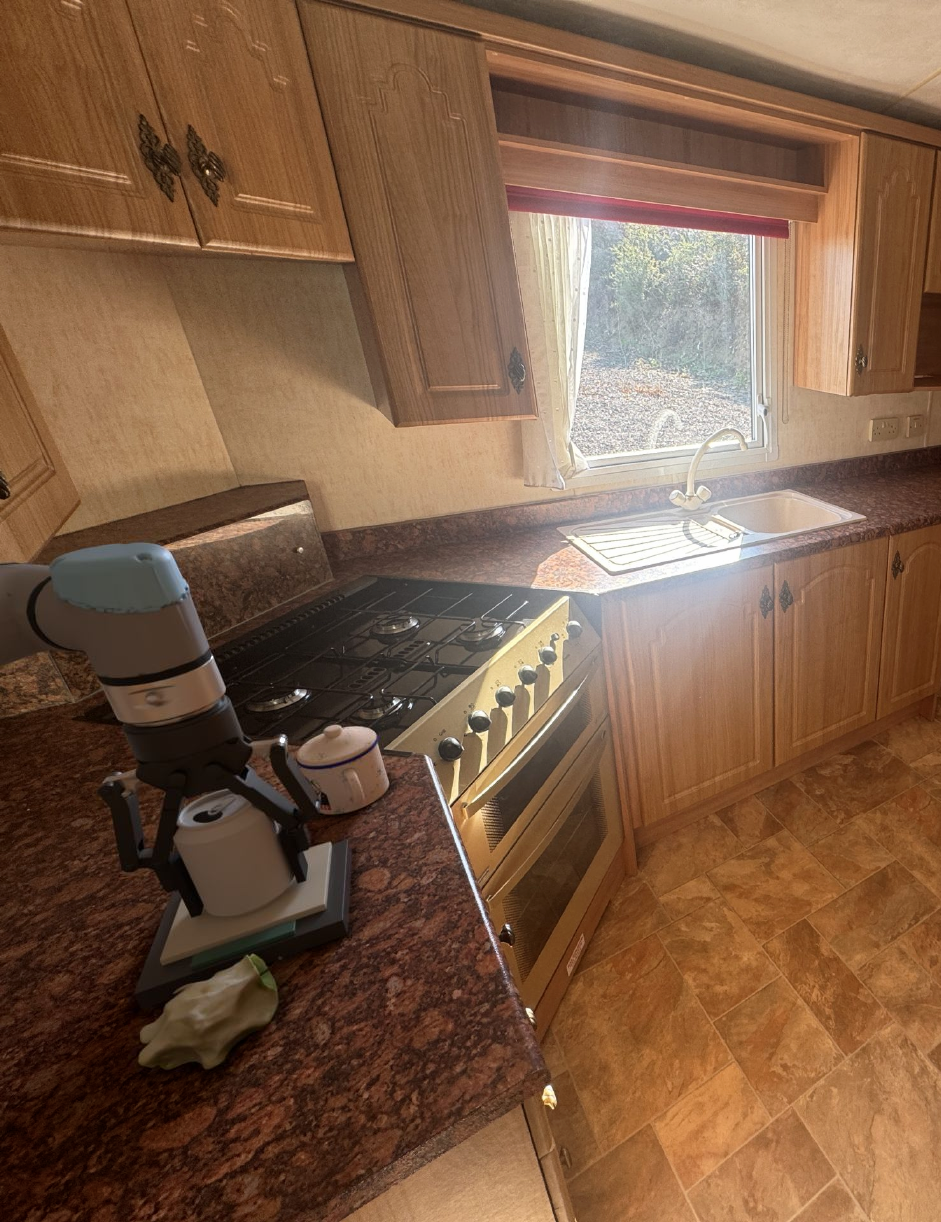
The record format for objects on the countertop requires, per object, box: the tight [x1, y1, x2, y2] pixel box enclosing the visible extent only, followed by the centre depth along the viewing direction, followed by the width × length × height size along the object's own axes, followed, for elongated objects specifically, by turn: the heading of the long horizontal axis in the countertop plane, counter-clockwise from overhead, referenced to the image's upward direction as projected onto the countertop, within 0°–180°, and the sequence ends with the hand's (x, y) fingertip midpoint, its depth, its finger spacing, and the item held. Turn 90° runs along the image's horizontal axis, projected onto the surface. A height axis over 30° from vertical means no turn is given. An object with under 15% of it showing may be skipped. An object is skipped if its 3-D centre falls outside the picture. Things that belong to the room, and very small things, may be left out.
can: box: [173, 789, 294, 917], centre depth 67 cm, size 8×8×12 cm
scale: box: [133, 839, 353, 1010], centre depth 69 cm, size 16×14×4 cm
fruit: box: [137, 954, 283, 1071], centre depth 58 cm, size 9×9×8 cm
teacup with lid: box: [295, 724, 390, 815], centre depth 86 cm, size 12×9×12 cm
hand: (252, 890), depth 69 cm, fingers open, 8 cm apart
